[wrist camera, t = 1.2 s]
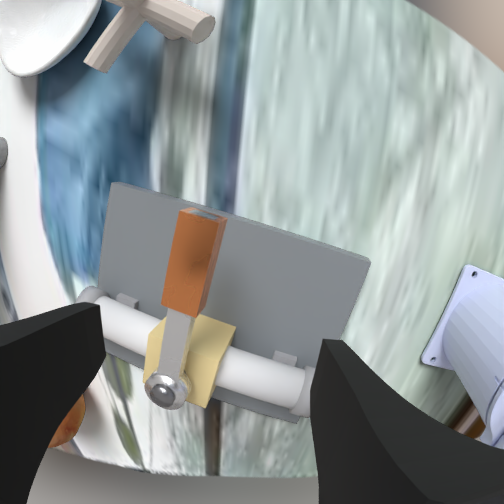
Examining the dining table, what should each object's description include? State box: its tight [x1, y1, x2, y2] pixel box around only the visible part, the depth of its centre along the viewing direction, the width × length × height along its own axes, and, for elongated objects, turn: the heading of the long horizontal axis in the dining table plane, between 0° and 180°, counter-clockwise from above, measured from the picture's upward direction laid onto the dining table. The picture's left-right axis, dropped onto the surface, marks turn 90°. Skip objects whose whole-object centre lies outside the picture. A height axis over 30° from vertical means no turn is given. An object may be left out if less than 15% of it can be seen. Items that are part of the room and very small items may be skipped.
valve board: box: [75, 182, 371, 424], centre depth 20 cm, size 18×14×6 cm
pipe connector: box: [83, 0, 216, 73], centre depth 13 cm, size 10×10×10 cm
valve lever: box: [145, 207, 228, 410], centre depth 15 cm, size 11×2×2 cm, turn 164°
